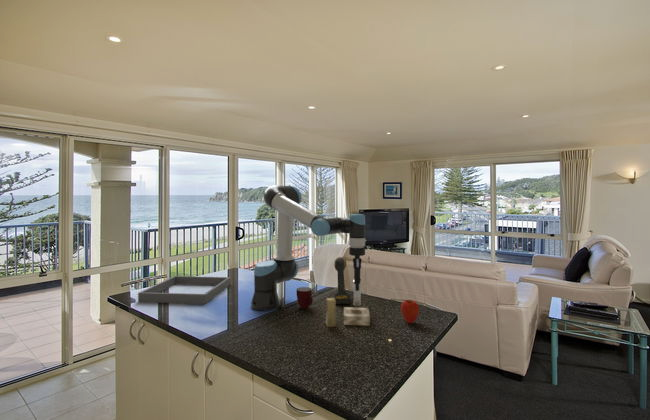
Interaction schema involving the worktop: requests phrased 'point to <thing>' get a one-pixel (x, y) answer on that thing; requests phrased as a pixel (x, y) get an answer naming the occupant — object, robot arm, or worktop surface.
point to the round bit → (356, 299)
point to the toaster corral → (155, 296)
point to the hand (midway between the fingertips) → (357, 295)
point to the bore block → (356, 316)
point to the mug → (304, 297)
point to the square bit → (330, 312)
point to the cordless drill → (341, 282)
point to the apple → (409, 310)
